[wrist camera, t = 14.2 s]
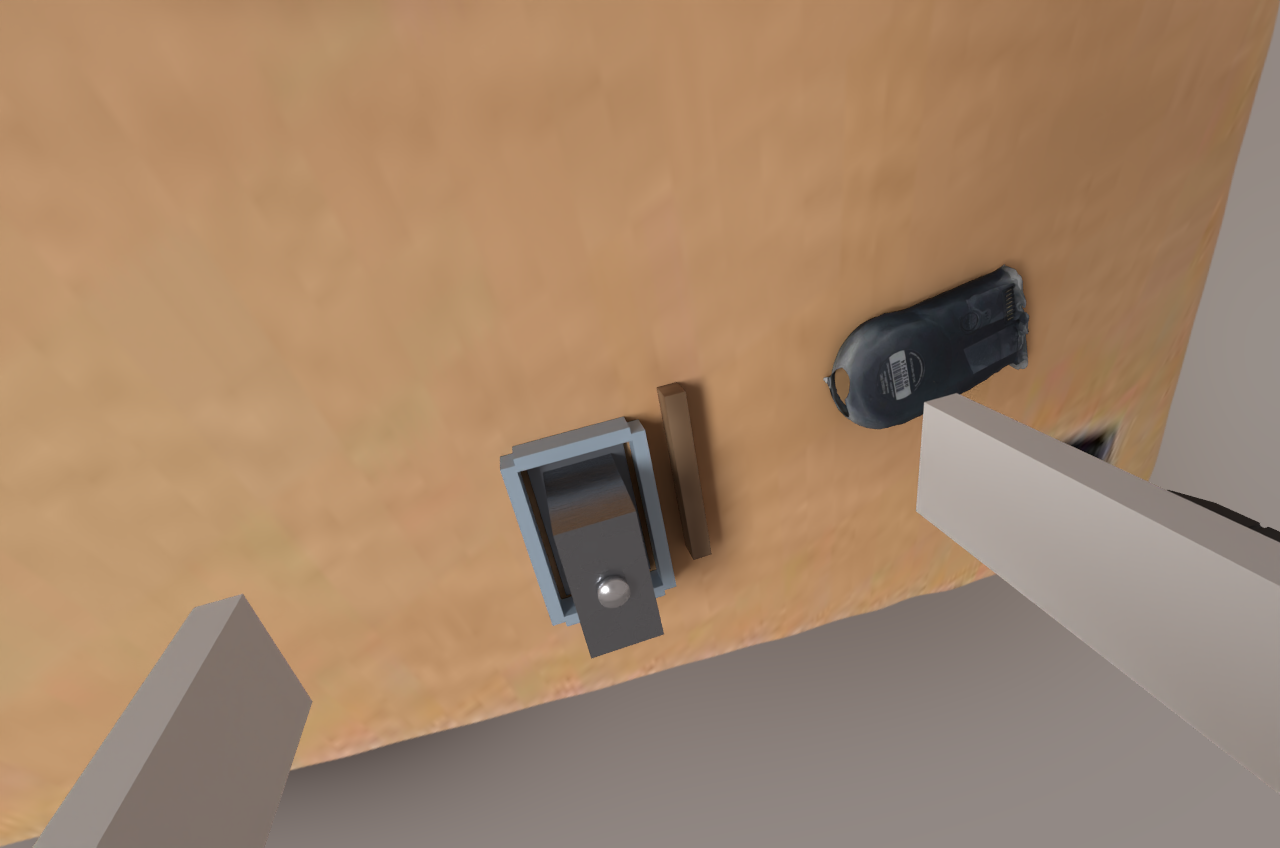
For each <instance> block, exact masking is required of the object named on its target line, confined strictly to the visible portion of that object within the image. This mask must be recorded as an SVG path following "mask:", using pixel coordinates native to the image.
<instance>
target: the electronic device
mask: <svg viewBox="0 0 1280 848" xmlns="http://www.w3.org/2000/svg"><path fill="white" fill-rule="evenodd" d="M1022 306H1023V308H1025V307H1026V299H1025V296H1024V293H1023V281H1022V277H1021V276H1020V275H1019V274H1018V273H1017V271H1016V270H1015V269H1013V268H1010V267H1007V266H1005V265H1003V266H1001V267H1000V268H999V269H997V270H996V271H994V272H992V273H989V274H987V275H984V276H982V277H980V278H977V279H975V280H972V281H969V282H968V283H965V284H963V285H960V286H958V287H956V288H954V289H952V290H949V291H946V292H943V293H941V294H939V295H937V296H935V297H933V298H930V299H927V300H925V301H923V302H921V303H919V304H916V305H914V306H912V307H910V308H907V309H905V310H901V311H898V312H891V313H884V314H882V315H880V316H878V317H875V318H872V319H869V320H868V321H866V322H864V323H863V324H861V325H860V326H858V327H857V328H856V329H855V330H854V331H853V332H852V333H851V334H850V335H849V336H848V338H847V339H846V340H845V342H844V343H843V344H842V346H841V348H840V349H839V352H838V354H837V356H836V359H835V362H834V365H833V369H832V374H831V376H830V377H826V378H823V379H824V381H825V382H826V383H827V384H828V386H829V388H830V392H831V395H832V398H833V400H834V402H835V404H836V406H837V408H838V409H839V410H840V412H841V413H842V414H843V415H844V416H845V417H847V418H848V419H849V420H851V421H852V422H854V423H856V424H858V425H860V426H863V427H866V428H872V429H883V428H888V427H891V426H895V425H900V424H903V423H906V422H908V421H910V420H912V419H914V418H916V417H918V416H921V415H923V412H924V402H927V401H930V400H934V399H938V398H941V397H945V396H948V395H952V394H955V393H957V394H959V395H960V394H962V393H963V392H966V391H968V390H970V389H971V388H973V387H974V386H976V385H977V384H979V383H981V382H983V381H985V380H987V379H988V378H989V377H990V376H991V375H993V374H994V373H996V372H999V371H1000V370H1001V369H1002V368H1004V367H1005V366H1007V365H1010V366H1012V367H1013V368H1015V369H1020V368H1021V369H1025V368H1026V367H1027V365H1028V356H1027V343H1026V334H1028V332H1029V331H1028V321H1029V315H1028V314H1027V313H1026V312H1024V310H1023V308H1022ZM839 368H843V369H844V370H845V371H846V372H847V374H848V375H849V378H850V389H849V394H848V396H847V398H846V399H845V403H846V405H845V404H844V403H843V402H842V401H841V399H840V397H839V395H838V394H837V389H836V387H835V370H836V369H839Z"/></svg>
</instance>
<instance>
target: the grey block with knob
mask: <svg viewBox="0 0 1280 848" xmlns="http://www.w3.org/2000/svg"><path fill="white" fill-rule="evenodd" d="M543 478H544V484H545V490H546V496H547V502H548V508H549V514H550V520H551V526H552V532H553V537H554V540H555V543H556V546H557V550H558V553H559V556H560V559H561V562H562V566H563V569H564V572H565V575H566V579H567V582H568V585H569V588H570V591H571V595H572V598H573V601H574V604H575V607H576V611H577V614H578V617H579V620H580V624H581V627H582V630H583V633H584V636H585V640H586V643H587V646H588V649H589V652H590V656H591V658H594V657H597V656H600V655H603V654H606V653H609V652H612V651H615V650H618V649H621V648H624V647H627V646H630V645H633V644H636V643H639V642H642V641H645V640H648V639H651V638H654V637H657V636H660V635H663V634H664V632H663V628H662V624H661V619H660V615H659V610H658V606H657V602H656V597H655V593H654V588H653V584H652V580H651V575H650V571H649V566H648V562H647V558H646V553H645V549H644V544H643V540H642V536H641V531H640V527H639V522H638V518H637V513H636V510H635V508H634V506H633V503H632V501H631V499H630V496H629V494H628V492H627V490H626V487H625V485H624V483H623V480H622V478H621V476H620V474H619V471H618V469H617V467H616V465H615V462H614V460H613V458H612V455H611V453H610V454H607V455H603V456H600V457H596V458H592V459H589V460H585V461H582V462H578V463H575V464H571V465H568V466H564V467H560V468H557V469H553V470H550V471H546V472H543Z"/></svg>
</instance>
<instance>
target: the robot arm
mask: <svg viewBox="0 0 1280 848" xmlns="http://www.w3.org/2000/svg"><path fill="white" fill-rule="evenodd" d="M916 511H917V512H918V513H919V514H920V515H922V516H923V517H924V518H926V519H927V520H928V521H929V522H931V523H932V524H933V525H934V526H936V527H937V528H938V529H940V530H941V531H942V532H943V533H945V534H946V535H947V536H949V537H950V538H951V539H952V540H954V541H955V542H956V543H958V544H959V545H960V546H961V547H963V548H964V549H965V550H967V551H968V552H969V553H970V554H972V555H973V556H974V557H976V558H977V559H978V560H979V561H981V562H982V563H983V564H984V565H986V566H987V567H988V568H990V569H991V570H992V571H993V572H995V573H996V574H997V575H999V576H1000V577H1001V578H1003V579H1004V580H1005V581H1006V582H1008V583H1009V584H1010V585H1011V586H1013V587H1014V588H1015V589H1017V590H1018V591H1019V592H1021V593H1022V594H1023V595H1024V596H1026V597H1027V598H1028V599H1029V600H1031V601H1032V602H1033V603H1034V604H1036V605H1037V606H1039V607H1040V608H1041V609H1042V610H1044V611H1045V612H1046V613H1047V614H1049V615H1050V616H1051V617H1052V618H1054V619H1055V620H1056V621H1058V622H1059V623H1060V624H1061V625H1063V626H1064V627H1065V628H1067V629H1068V630H1069V631H1070V632H1072V633H1073V634H1074V635H1076V636H1077V637H1078V638H1079V639H1081V640H1082V641H1083V642H1085V643H1086V644H1087V645H1088V646H1090V647H1091V648H1092V649H1094V650H1095V651H1096V652H1097V653H1099V654H1100V655H1101V656H1103V657H1104V658H1105V659H1106V660H1108V661H1109V662H1110V663H1111V664H1113V665H1114V666H1115V667H1117V668H1118V669H1119V670H1120V671H1122V672H1123V673H1124V674H1126V675H1127V676H1128V677H1130V678H1131V679H1132V680H1133V681H1134V682H1136V683H1137V684H1138V685H1140V686H1141V687H1142V688H1143V689H1145V690H1146V691H1147V692H1149V693H1150V694H1151V695H1152V696H1154V697H1155V698H1156V699H1158V700H1159V701H1160V702H1161V703H1163V704H1164V705H1165V706H1167V707H1168V708H1169V709H1170V710H1172V711H1173V712H1174V713H1176V714H1177V715H1179V717H1181V718H1182V719H1183V720H1184V721H1186V722H1187V723H1188V724H1190V725H1191V726H1192V727H1193V728H1195V729H1196V730H1197V731H1199V732H1200V733H1201V734H1203V735H1204V736H1205V737H1206V738H1208V739H1209V740H1210V741H1211V742H1213V743H1214V744H1215V745H1217V746H1218V747H1219V748H1220V749H1222V750H1223V751H1224V752H1226V753H1227V754H1228V755H1229V756H1231V757H1232V758H1233V759H1235V760H1236V761H1237V762H1238V763H1240V764H1241V765H1242V766H1243V767H1245V768H1246V769H1247V770H1249V771H1250V772H1251V773H1252V774H1254V775H1255V776H1256V777H1258V778H1259V779H1260V780H1261V781H1263V782H1264V783H1265V784H1267V785H1268V786H1269V787H1270V788H1272V789H1273V790H1274V791H1276V792H1277V793H1278V794H1280V532H1279V531H1277V530H1274V529H1272V528H1270V527H1267V528H1263V527H1261V526H1260V523H1259V522H1257V521H1255V520H1252V519H1250V518H1248V517H1245V516H1243V515H1241V514H1239V513H1237V512H1234V511H1232V510H1230V509H1228V508H1225V507H1223V506H1221V505H1219V504H1217V503H1214V502H1210V501H1206V500H1203V499H1199V498H1196V497H1192V496H1189V495H1185V494H1181V493H1178V492H1174V491H1170V490H1165V489H1163V488H1161V487H1158V486H1156V485H1154V484H1152V483H1150V482H1148V481H1145V480H1143V479H1141V478H1139V477H1137V476H1135V475H1133V474H1130V473H1128V472H1126V471H1124V470H1122V469H1120V468H1117V467H1115V466H1113V465H1111V464H1109V463H1107V462H1104V461H1102V460H1100V459H1098V458H1096V457H1094V456H1091V455H1089V454H1087V453H1085V452H1083V451H1081V450H1078V449H1076V448H1074V447H1072V446H1070V445H1068V444H1065V443H1063V442H1061V441H1059V440H1057V439H1055V438H1052V437H1050V436H1048V435H1046V434H1044V433H1042V432H1040V431H1037V430H1035V429H1033V428H1031V427H1029V426H1027V425H1024V424H1022V423H1020V422H1018V421H1016V420H1014V419H1011V418H1009V417H1007V416H1005V415H1003V414H1001V413H998V412H996V411H994V410H992V409H990V408H988V407H985V406H983V405H981V404H979V403H977V402H975V401H972V400H970V399H968V398H966V397H964V396H962V395H959V394H957V393H955V394H952V395H948V396H945V397H941V398H938V399H934V400H930V401H927V402H924V412H923V426H922V439H921V453H920V466H919V479H918V493H917V506H916ZM311 704H312V700H311V699H310V697H309V695H308V694H307V692H306V691H305V689H304V688H303V686H302V685H301V683H300V682H299V680H298V678H297V677H296V675H295V674H294V672H293V671H292V669H291V668H290V666H289V664H288V663H287V661H286V660H285V658H284V657H283V655H282V654H281V652H280V651H279V649H278V647H277V646H276V644H275V643H274V641H273V640H272V638H271V637H270V635H269V633H268V632H267V630H266V629H265V627H264V626H263V624H262V623H261V621H260V620H259V618H258V616H257V615H256V613H255V612H254V610H253V609H252V607H251V606H250V604H249V603H248V601H247V599H246V598H245V596H244V595H243V594H241V595H237V596H234V597H230V598H227V599H223V600H219V601H216V602H212V603H209V604H205V605H202V606H198V607H195V608H193V610H192V611H191V613H190V614H189V616H188V617H187V619H186V620H185V622H184V623H183V625H182V626H181V628H180V629H179V631H178V632H177V634H176V635H175V636H174V638H173V639H172V641H171V642H170V644H169V645H168V647H167V648H166V650H165V651H164V653H163V654H162V656H161V657H160V659H159V660H158V662H157V663H156V665H155V666H154V668H153V669H152V671H151V672H150V674H149V675H148V676H147V678H146V679H145V681H144V682H143V684H142V685H141V687H140V688H139V690H138V691H137V693H136V694H135V696H134V697H133V699H132V700H131V702H130V703H129V705H128V706H127V708H126V709H125V711H124V712H123V714H122V715H121V717H120V718H119V719H118V721H117V722H116V724H115V725H114V727H113V728H112V730H111V731H110V733H109V734H108V736H107V737H106V739H105V740H104V742H103V743H102V745H101V746H100V748H99V749H98V751H97V752H96V754H95V755H94V757H93V758H92V759H91V761H90V762H89V764H88V765H87V767H86V768H85V770H84V771H83V773H82V774H81V776H80V777H79V779H78V780H77V782H76V783H75V785H74V786H73V788H72V789H71V791H70V792H69V794H68V795H67V797H66V798H65V800H64V801H63V802H62V804H61V805H60V807H59V808H58V810H57V811H56V813H55V814H54V816H53V817H52V819H51V820H50V822H49V823H48V825H47V826H46V828H45V829H44V831H43V832H42V834H41V835H40V837H39V838H38V840H37V841H36V843H35V844H34V845H33V847H32V848H264V847H265V844H266V841H267V837H268V835H269V832H270V829H271V826H272V823H273V819H274V817H275V813H276V811H277V808H278V804H279V801H280V798H281V795H282V792H283V789H284V786H285V783H286V780H287V777H288V774H289V771H290V768H291V765H292V762H293V759H294V756H295V753H296V750H297V747H298V744H299V741H300V738H301V735H302V732H303V729H304V725H305V722H306V719H307V716H308V713H309V710H310V707H311Z"/></svg>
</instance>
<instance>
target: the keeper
mask: <svg viewBox="0 0 1280 848" xmlns="http://www.w3.org/2000/svg"><path fill="white" fill-rule="evenodd" d="M628 441H629V444H630V449H631V454H632V458H633V463H634V467H635V472H636V477H637V481H638V486H639V491H640V495H641V500H642V504H643V509H644V514H645V518H646V523H647V527H648V532H649V537H650V541H651V546H652V550H653V555H654V560H655V564H656V569H657V570H654V571H651V572H650V575H651V580H652V584H653V588H654V593H655V597H656V598H658V597H661V596H664V595H665V591H664V590H667V589H670V588H673V587H676V582H675V577H674V572H673V567H672V562H671V557H670V552H669V547H668V542H667V537H666V532H665V527H664V522H663V517H662V512H661V507H660V502H659V497H658V492H657V487H656V482H655V477H654V472H653V467H652V462H651V457H650V452H649V447H648V443H647V438H646V433H645V429H644V428H643V426H642V424H641V423H640V421H639V420H638V419H637V420H634V421H630V422H626V420H625V418H624V417H620V418H617V419H613V420H609V421H606V422H602V423H598V424H594V425H591V426H587V427H583V428H580V429H576V430H572V431H569V432H565V433H561V434H557V435H554V436H550V437H546V438H543V439H539V440H535V441H532V442H528V443H524V444H521V445H517V446H513V447H512V450H513V453H512V454H509V455H505V456H501V457H500V471H501V474H502V477H503V480H504V483H505V486H506V489H507V492H508V494H509V497H510V500H511V503H512V506H513V509H514V512H515V515H516V518H517V521H518V524H519V527H520V530H521V533H522V536H523V539H524V542H525V545H526V548H527V551H528V554H529V557H530V560H531V563H532V566H533V568H534V571H535V574H536V577H537V580H538V583H539V586H540V589H541V592H542V595H543V598H544V601H545V604H546V607H547V610H548V613H549V616H550V619H551V622H552V625H553V626H554V625H557V624H560V623H563V622H566V625H567V626H570V625H574V624H577V623H580V620H579V617H578V614H577V611H576V607H575V604H574V601H573V598H572V596H571V597H568V598H565V599H562V600H561V597H560V594H559V591H558V588H557V585H556V582H555V579H554V575H553V572H552V569H551V566H550V563H549V560H548V557H547V554H546V550H545V547H544V544H543V541H542V538H541V535H540V532H539V529H538V525H537V522H536V519H535V516H534V513H533V510H532V507H531V504H530V501H529V497H528V494H527V491H526V488H525V485H524V482H523V479H522V476H521V472H520V471H524V470H527V472H528V475H529V478H530V481H531V485H532V488H533V491H534V494H535V497H536V500H537V504H538V507H539V510H540V513H541V516H542V520H543V523H544V526H545V529H546V532H547V536H548V539H549V542H550V545H551V548H552V551H553V555H554V558H555V561H556V564H557V567H558V571H559V574H560V577H561V580H562V583H563V586H564V590H565V593H566V595H569V594H571V591H570V588H569V585H568V582H567V579H566V575H565V572H564V569H563V566H562V562H561V559H560V556H559V553H558V550H557V546H556V543H555V540H554V537H553V532H552V526H551V520H550V514H549V508H548V502H547V496H546V490H545V484H544V478H543V472H546V471H550V470H553V469H557V468H560V467H564V466H568V465H571V464H575V463H578V462H582V461H585V460H589V459H592V458H596V457H600V456H603V455H607V454H610V453H611V455H612V458H613V460H614V462H615V465H616V467H617V469H618V471H619V474H620V476H621V478H622V480H623V483H624V485H625V487H626V490H627V492H628V494H629V496H630V499H631V501H632V503H633V506H634V508H635V510H636V513H637V518H638V522H639V527H640V531H641V536H642V540H643V544H644V549H645V553H646V558H647V562H648V566H649V569H651V568H650V564H649V559H648V555H647V550H646V546H645V541H644V537H643V532H642V528H641V523H640V519H639V514H638V510H637V505H636V501H635V496H634V492H633V487H632V483H631V478H630V474H629V469H628V465H627V460H626V456H625V451H624V447H623V443H625V442H628Z"/></svg>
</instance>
